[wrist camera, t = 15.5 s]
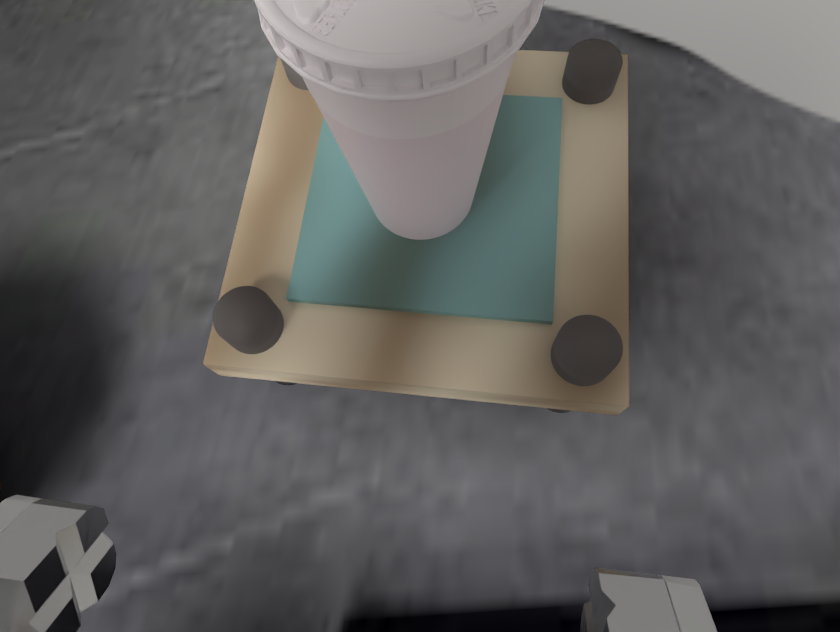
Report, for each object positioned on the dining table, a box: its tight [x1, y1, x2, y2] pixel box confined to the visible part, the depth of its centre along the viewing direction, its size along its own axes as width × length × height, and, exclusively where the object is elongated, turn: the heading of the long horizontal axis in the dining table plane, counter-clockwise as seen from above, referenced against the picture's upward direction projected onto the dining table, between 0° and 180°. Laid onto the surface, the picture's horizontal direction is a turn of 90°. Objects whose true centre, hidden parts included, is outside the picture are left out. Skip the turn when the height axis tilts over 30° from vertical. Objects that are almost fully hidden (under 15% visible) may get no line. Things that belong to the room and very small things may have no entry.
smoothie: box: [254, 0, 544, 240], centre depth 15 cm, size 6×6×14 cm
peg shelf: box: [203, 39, 629, 415], centre depth 23 cm, size 14×14×6 cm
